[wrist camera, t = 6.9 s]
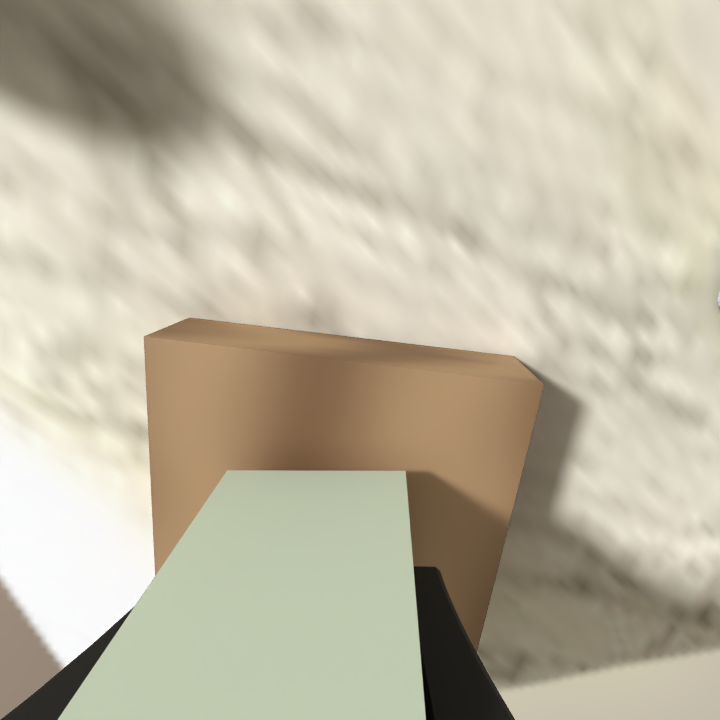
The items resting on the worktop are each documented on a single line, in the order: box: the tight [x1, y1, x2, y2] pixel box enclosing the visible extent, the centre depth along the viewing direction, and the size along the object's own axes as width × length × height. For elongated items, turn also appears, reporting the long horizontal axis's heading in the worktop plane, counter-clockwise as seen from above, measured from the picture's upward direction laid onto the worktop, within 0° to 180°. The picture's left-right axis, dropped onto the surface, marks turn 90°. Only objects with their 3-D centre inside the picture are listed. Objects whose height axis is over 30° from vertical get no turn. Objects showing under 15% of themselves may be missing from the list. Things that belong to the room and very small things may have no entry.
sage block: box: [58, 470, 426, 720], centre depth 8 cm, size 4×4×6 cm
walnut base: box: [144, 318, 544, 652], centre depth 13 cm, size 10×10×2 cm
